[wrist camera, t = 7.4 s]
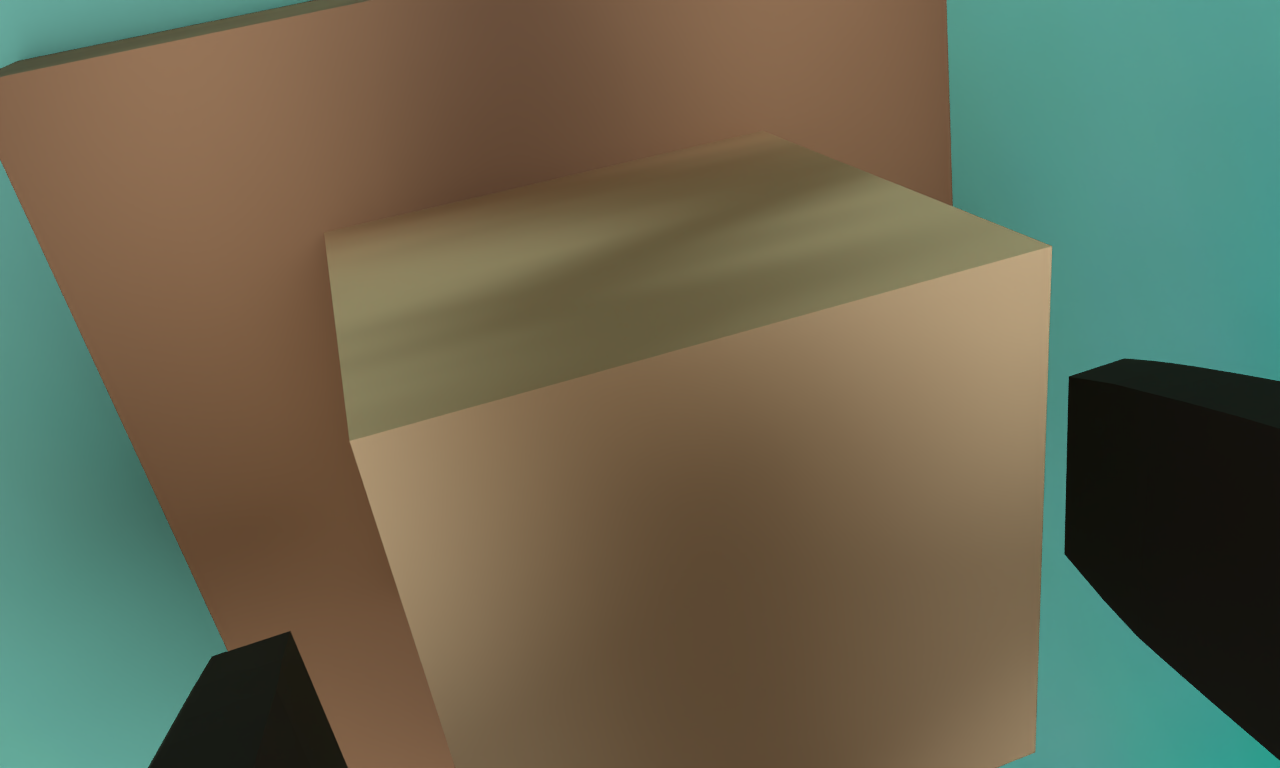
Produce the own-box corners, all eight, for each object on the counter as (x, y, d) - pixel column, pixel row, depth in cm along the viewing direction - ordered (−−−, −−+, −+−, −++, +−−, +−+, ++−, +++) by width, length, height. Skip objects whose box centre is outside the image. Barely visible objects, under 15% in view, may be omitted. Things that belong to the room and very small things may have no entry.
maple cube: (762, 131, 12) (1052, 246, 7) (798, 494, 14) (1034, 751, 9) (323, 233, 10) (348, 439, 6) (438, 609, 13) (517, 960, 8)
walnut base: (853, -110, 13) (943, -119, 11) (896, 529, 17) (964, 595, 15) (17, 60, 11) (-34, 83, 9) (311, 735, 15) (315, 838, 13)
